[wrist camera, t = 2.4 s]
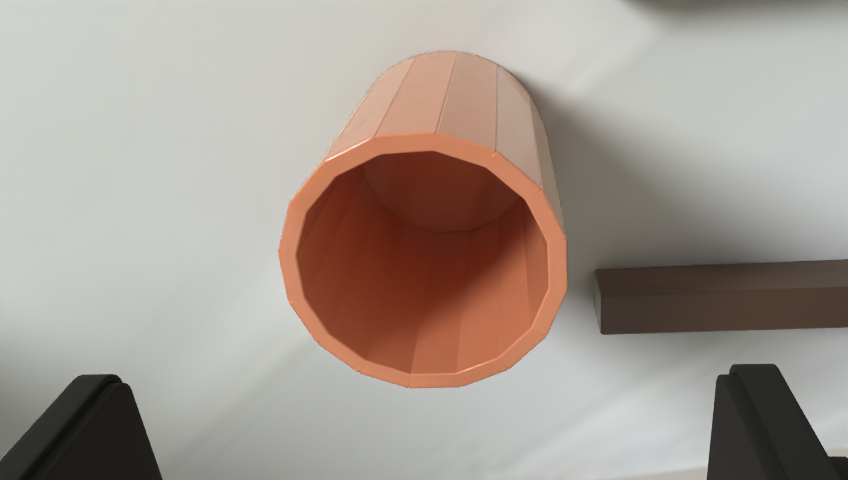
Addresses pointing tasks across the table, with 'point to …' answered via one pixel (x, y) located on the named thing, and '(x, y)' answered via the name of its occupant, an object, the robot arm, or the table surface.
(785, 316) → the guide rails
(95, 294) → the table surface
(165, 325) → the table surface
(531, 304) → the peach cup
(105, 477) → the robot arm
